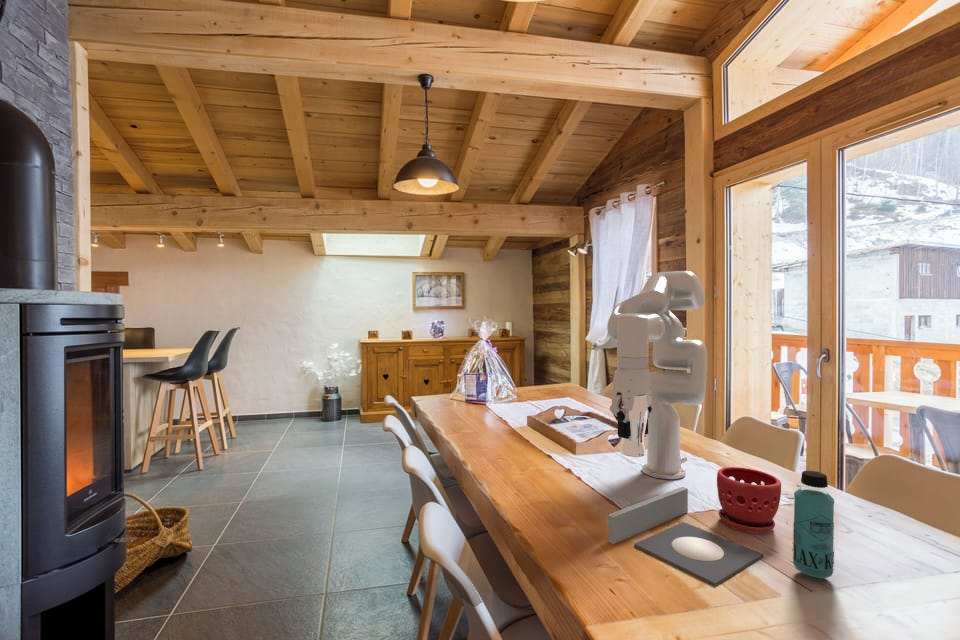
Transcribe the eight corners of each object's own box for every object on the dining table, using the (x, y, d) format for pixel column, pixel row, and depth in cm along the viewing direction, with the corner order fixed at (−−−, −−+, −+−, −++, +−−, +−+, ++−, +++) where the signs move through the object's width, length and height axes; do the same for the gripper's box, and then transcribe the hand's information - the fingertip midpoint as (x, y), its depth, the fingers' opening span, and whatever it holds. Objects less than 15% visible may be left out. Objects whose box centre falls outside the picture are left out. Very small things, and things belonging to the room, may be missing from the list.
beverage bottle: (784, 568, 93) (784, 467, 92) (816, 566, 94) (816, 466, 93) (810, 588, 86) (810, 479, 86) (844, 585, 87) (844, 478, 87)
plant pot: (758, 543, 103) (758, 489, 102) (705, 520, 114) (704, 471, 114) (793, 530, 109) (793, 478, 108) (739, 509, 120) (739, 462, 120)
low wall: (682, 510, 120) (682, 486, 120) (687, 512, 119) (687, 488, 119) (607, 541, 105) (607, 514, 104) (613, 544, 103) (613, 517, 103)
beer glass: (649, 458, 114) (649, 396, 114) (619, 456, 116) (619, 395, 116) (645, 450, 121) (645, 391, 121) (617, 448, 123) (617, 391, 122)
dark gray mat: (683, 524, 112) (683, 521, 112) (763, 556, 97) (763, 553, 97) (634, 546, 102) (634, 543, 102) (715, 586, 87) (715, 582, 87)
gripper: (643, 360, 126) (643, 427, 126) (597, 365, 117) (597, 437, 117) (667, 363, 120) (667, 433, 120) (621, 367, 110) (621, 444, 111)
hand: (633, 434), depth 118 cm, fingers closed on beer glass, 6 cm apart
